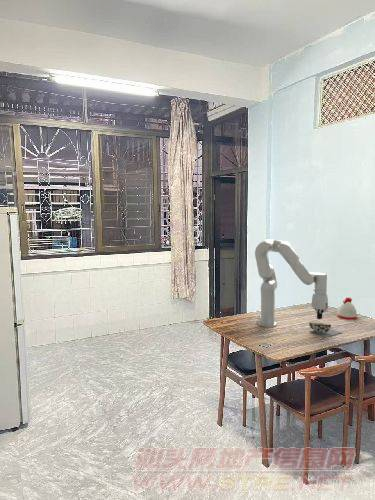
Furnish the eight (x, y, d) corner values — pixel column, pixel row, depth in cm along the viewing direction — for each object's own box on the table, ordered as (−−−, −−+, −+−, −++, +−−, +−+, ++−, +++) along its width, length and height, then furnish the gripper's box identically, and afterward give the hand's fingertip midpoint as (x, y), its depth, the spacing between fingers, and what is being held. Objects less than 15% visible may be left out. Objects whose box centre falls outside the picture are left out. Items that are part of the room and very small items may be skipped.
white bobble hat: (361, 318, 274) (361, 298, 273) (347, 320, 269) (347, 300, 267) (346, 313, 287) (347, 294, 285) (332, 315, 282) (333, 296, 280)
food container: (306, 331, 245) (313, 333, 235) (306, 322, 246) (314, 324, 236) (323, 332, 247) (331, 334, 237) (323, 323, 247) (331, 324, 238)
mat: (310, 332, 242) (310, 331, 242) (326, 328, 251) (326, 327, 251) (326, 337, 232) (326, 336, 232) (341, 332, 241) (341, 332, 241)
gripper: (307, 290, 247) (306, 316, 249) (326, 294, 235) (325, 322, 237) (314, 289, 251) (313, 315, 253) (333, 293, 239) (332, 320, 241)
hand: (319, 318), depth 245 cm, fingers closed
